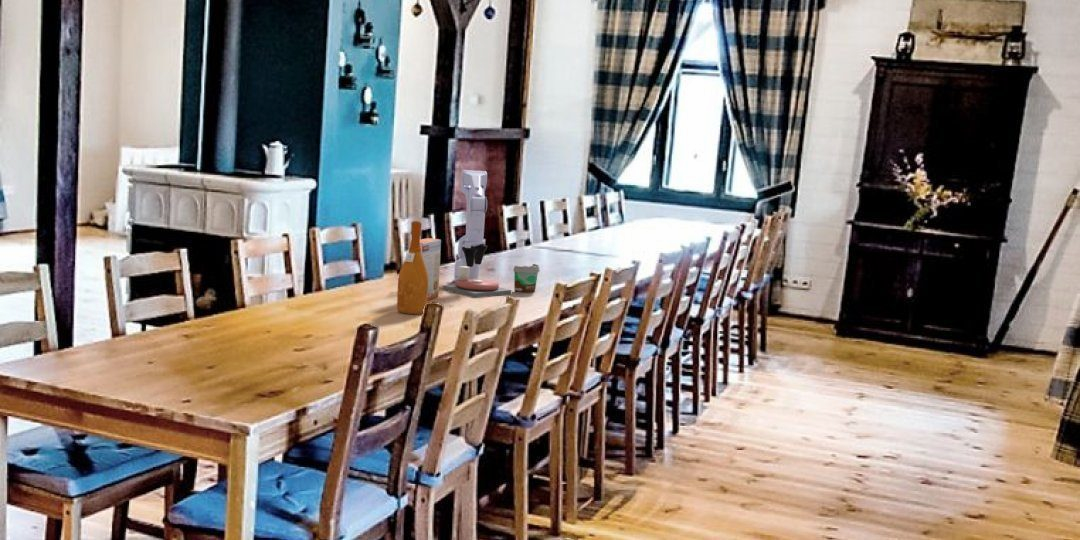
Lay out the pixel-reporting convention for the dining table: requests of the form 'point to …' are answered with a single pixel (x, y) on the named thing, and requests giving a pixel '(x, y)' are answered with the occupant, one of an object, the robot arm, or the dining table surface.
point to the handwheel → (473, 281)
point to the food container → (525, 278)
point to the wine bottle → (413, 277)
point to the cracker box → (431, 264)
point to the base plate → (476, 291)
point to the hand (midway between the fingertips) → (473, 265)
